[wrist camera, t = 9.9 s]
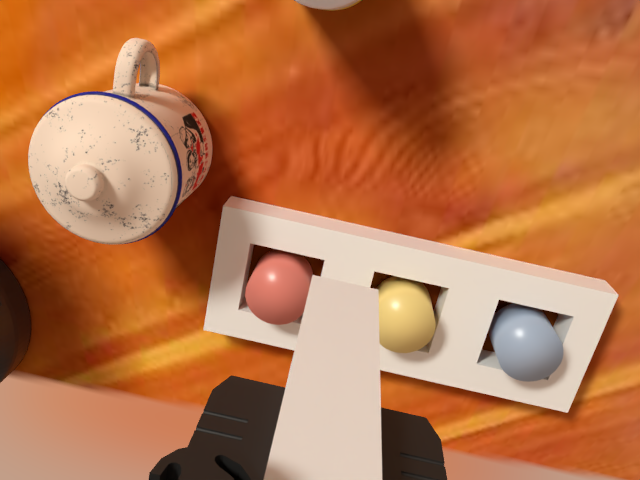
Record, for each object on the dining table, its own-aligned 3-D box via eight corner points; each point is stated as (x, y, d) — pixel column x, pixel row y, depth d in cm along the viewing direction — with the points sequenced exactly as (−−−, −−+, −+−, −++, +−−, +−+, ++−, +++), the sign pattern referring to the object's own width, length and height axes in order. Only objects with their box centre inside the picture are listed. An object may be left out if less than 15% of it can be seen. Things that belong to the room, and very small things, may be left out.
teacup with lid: (206, 217, 44) (152, 280, 33) (88, 188, 44) (-5, 242, 33) (234, 52, 40) (182, 63, 29) (102, 21, 40) (2, 20, 29)
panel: (211, 314, 47) (203, 329, 45) (231, 195, 44) (223, 205, 41) (558, 393, 47) (567, 412, 45) (605, 280, 43) (618, 295, 41)
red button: (250, 295, 45) (240, 317, 42) (260, 242, 44) (250, 260, 40) (306, 307, 45) (301, 330, 42) (318, 255, 44) (313, 275, 40)
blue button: (481, 347, 45) (489, 373, 42) (498, 296, 44) (509, 319, 40) (537, 360, 45) (550, 387, 42) (557, 309, 44) (572, 333, 40)
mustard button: (365, 321, 45) (364, 345, 42) (379, 269, 44) (379, 290, 40) (421, 334, 45) (425, 359, 42) (437, 282, 44) (443, 304, 40)
